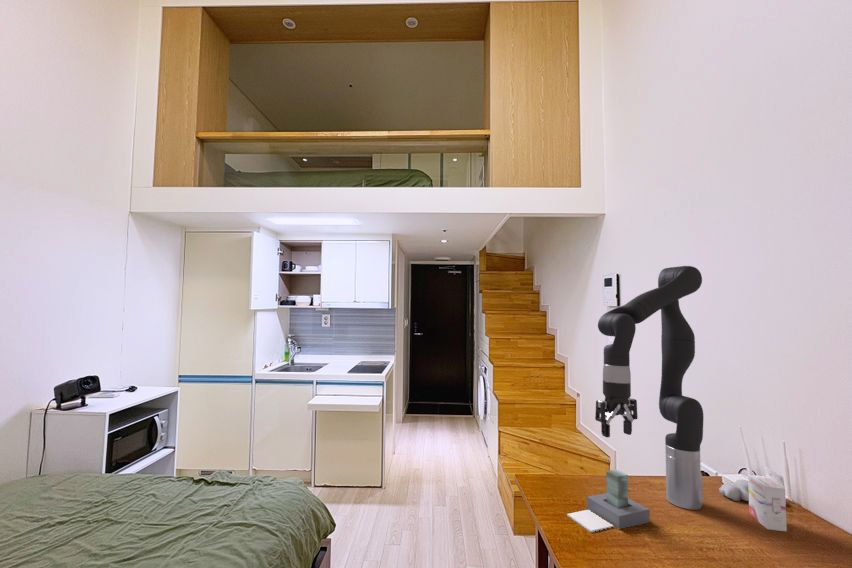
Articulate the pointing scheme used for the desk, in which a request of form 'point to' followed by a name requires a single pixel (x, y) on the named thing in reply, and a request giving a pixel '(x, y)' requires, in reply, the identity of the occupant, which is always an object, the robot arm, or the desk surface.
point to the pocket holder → (618, 512)
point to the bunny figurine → (736, 490)
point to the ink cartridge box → (768, 500)
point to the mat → (589, 520)
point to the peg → (617, 488)
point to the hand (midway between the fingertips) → (616, 435)
